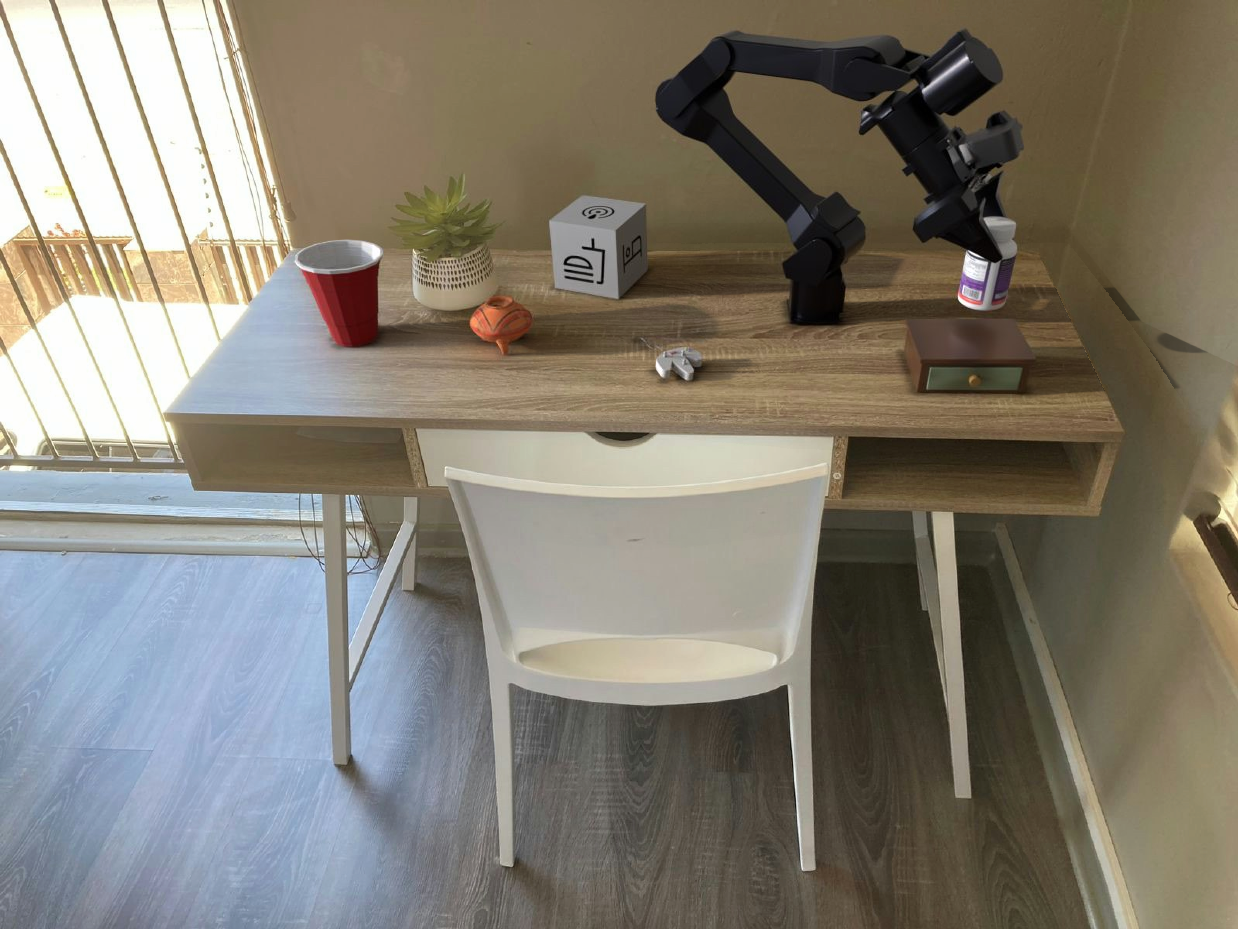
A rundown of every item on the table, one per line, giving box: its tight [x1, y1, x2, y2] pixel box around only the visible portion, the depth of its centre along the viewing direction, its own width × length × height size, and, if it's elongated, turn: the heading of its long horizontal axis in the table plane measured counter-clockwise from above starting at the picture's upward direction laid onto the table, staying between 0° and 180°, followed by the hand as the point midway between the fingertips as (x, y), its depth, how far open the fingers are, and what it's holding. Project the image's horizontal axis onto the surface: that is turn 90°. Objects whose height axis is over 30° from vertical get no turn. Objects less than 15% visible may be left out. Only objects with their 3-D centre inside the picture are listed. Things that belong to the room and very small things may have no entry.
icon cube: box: [548, 194, 649, 300], centre depth 133 cm, size 10×10×10 cm
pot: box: [469, 295, 534, 356], centre depth 120 cm, size 8×8×7 cm
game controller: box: [637, 337, 703, 381], centre depth 115 cm, size 6×12×3 cm, turn 49°
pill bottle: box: [957, 216, 1018, 312], centre depth 109 cm, size 5×5×10 cm
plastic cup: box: [294, 239, 384, 348], centre depth 121 cm, size 11×11×12 cm
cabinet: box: [903, 318, 1037, 394], centre depth 110 cm, size 13×10×5 cm
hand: (1004, 251), depth 107 cm, fingers closed on pill bottle, 5 cm apart
